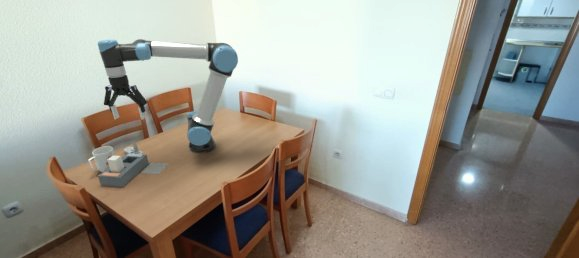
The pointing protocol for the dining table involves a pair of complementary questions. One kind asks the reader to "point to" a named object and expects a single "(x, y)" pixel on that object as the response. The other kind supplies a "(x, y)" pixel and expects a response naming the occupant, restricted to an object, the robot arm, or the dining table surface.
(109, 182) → the dock
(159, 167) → the mat
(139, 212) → the dining table surface
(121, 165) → the plug
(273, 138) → the dining table surface
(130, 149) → the electronic device
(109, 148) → the mug
